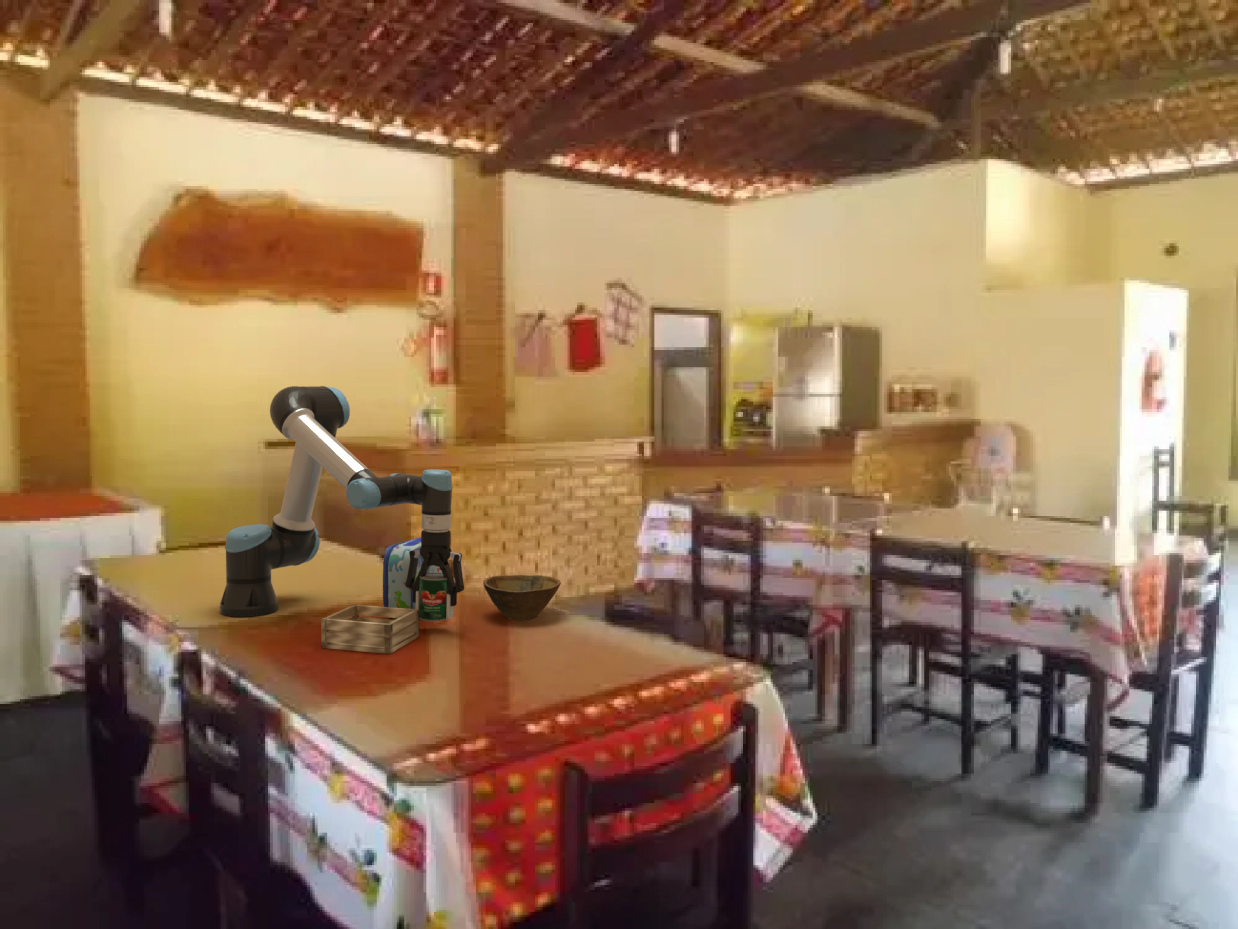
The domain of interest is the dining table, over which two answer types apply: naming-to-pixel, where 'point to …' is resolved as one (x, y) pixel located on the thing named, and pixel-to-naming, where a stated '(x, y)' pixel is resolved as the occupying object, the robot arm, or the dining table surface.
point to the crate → (370, 629)
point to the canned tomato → (433, 597)
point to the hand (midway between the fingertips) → (434, 616)
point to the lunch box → (401, 574)
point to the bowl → (521, 594)
